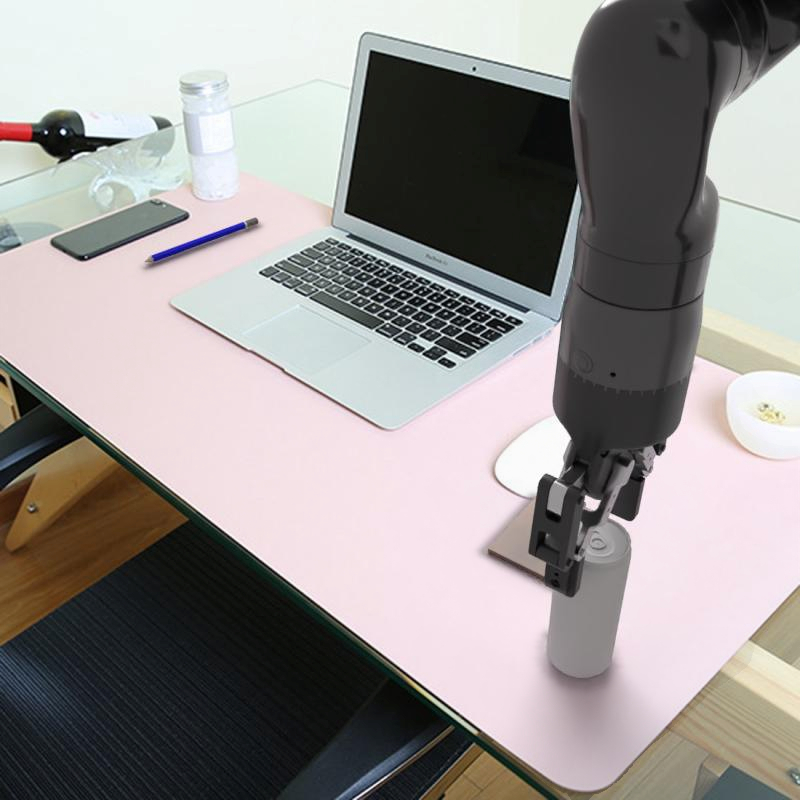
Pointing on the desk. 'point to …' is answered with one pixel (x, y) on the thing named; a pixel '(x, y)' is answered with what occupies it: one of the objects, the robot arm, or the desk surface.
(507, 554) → the coaster
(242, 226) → the pencil
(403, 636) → the desk surface
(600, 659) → the beverage can
